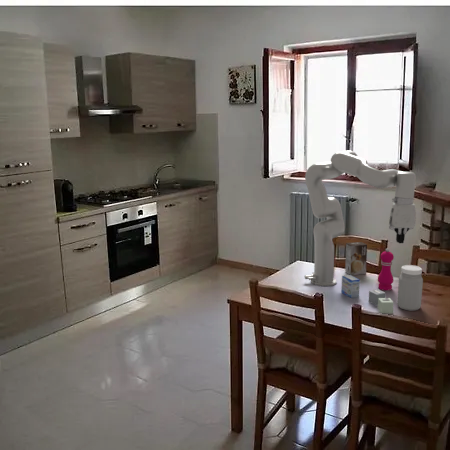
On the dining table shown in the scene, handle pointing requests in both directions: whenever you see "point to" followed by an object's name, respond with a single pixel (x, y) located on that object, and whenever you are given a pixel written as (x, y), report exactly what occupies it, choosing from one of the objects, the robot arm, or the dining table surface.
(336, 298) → the dining table surface
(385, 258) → the pepper mill
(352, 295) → the medicine box
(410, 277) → the jar
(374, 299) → the slate block
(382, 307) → the sage block
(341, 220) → the robot arm
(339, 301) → the dining table surface
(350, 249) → the coffee box
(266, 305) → the dining table surface
